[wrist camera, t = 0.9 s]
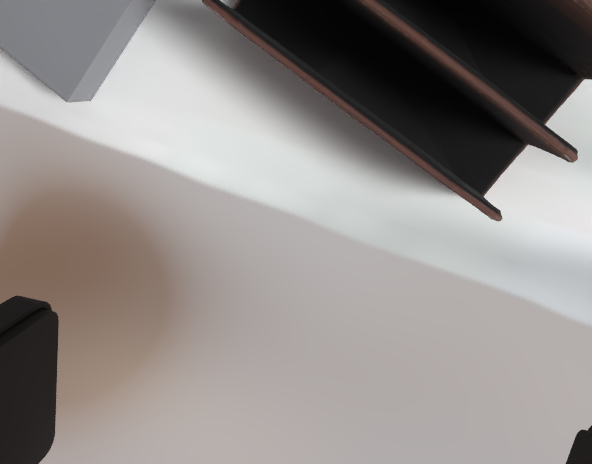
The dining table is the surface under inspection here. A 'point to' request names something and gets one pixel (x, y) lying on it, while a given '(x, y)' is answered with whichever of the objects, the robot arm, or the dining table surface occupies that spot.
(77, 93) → the grey stepped platform
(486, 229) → the dining table surface
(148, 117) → the dining table surface
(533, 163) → the dining table surface
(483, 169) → the letter holder
